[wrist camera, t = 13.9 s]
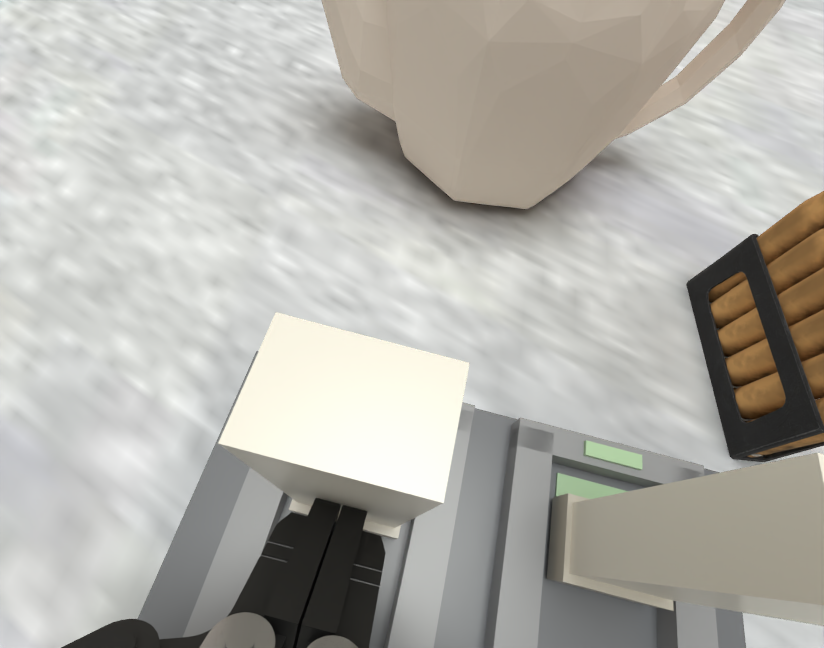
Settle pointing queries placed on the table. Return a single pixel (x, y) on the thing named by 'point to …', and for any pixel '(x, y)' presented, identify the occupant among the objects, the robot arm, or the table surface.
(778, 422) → the ammunition clip
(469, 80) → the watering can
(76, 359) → the table surface
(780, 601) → the tab
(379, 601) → the switch board
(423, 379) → the tab
